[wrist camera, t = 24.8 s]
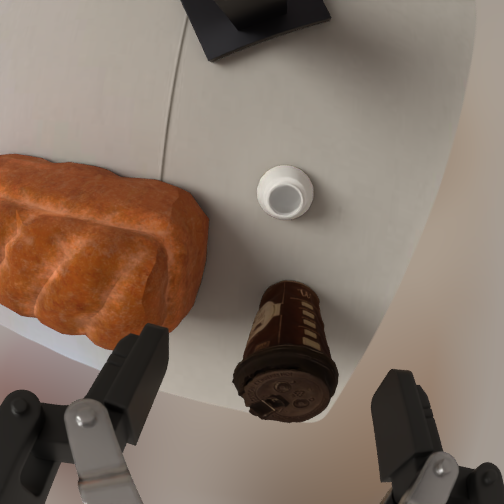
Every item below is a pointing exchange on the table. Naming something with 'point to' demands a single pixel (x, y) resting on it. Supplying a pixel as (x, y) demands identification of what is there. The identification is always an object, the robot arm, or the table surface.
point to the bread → (97, 248)
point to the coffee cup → (287, 357)
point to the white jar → (285, 192)
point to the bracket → (249, 21)
